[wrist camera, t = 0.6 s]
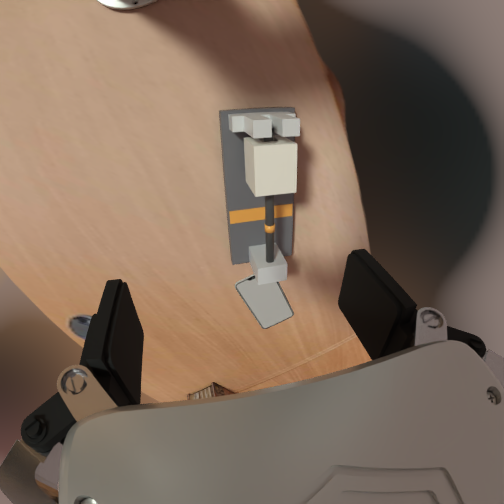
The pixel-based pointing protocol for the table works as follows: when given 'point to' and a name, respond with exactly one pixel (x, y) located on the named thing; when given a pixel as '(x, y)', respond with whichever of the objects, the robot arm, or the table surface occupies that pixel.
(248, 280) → the smartphone
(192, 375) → the table surface
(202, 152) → the table surface
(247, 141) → the notched cream block
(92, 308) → the table surface
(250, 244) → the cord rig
